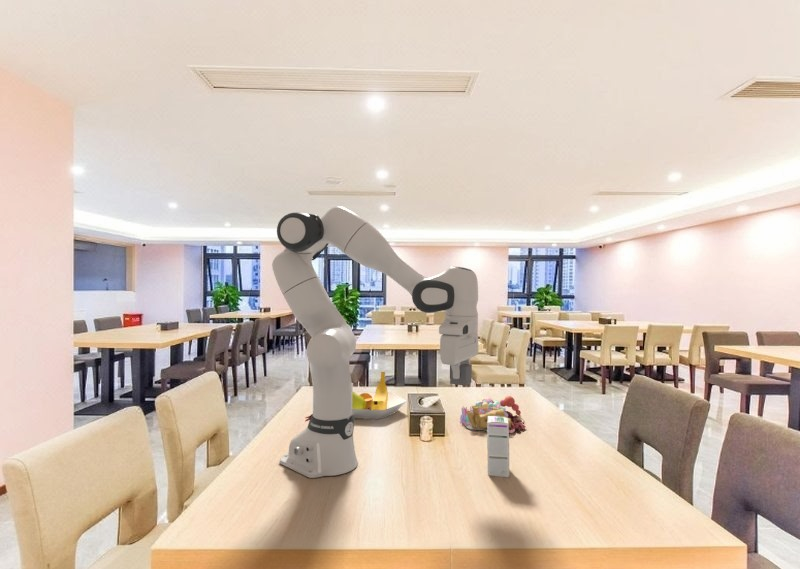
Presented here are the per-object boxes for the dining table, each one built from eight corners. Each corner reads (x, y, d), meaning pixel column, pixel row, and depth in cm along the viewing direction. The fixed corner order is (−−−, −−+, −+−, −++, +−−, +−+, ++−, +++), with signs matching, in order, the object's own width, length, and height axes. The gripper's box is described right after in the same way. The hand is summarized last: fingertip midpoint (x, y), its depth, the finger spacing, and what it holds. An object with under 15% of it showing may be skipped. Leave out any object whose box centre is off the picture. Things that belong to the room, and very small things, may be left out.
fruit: (328, 406, 173) (329, 372, 173) (385, 399, 184) (385, 367, 184) (350, 428, 146) (351, 388, 146) (415, 419, 157) (415, 381, 157)
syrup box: (509, 477, 108) (510, 423, 108) (487, 475, 109) (487, 421, 109) (508, 468, 113) (508, 416, 114) (486, 466, 115) (487, 415, 115)
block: (450, 383, 111) (450, 365, 111) (456, 380, 114) (456, 362, 115) (465, 385, 108) (466, 367, 108) (471, 382, 112) (471, 364, 112)
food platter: (529, 437, 138) (529, 410, 138) (459, 433, 142) (459, 406, 142) (520, 415, 163) (520, 392, 163) (461, 412, 167) (461, 389, 167)
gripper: (463, 322, 122) (462, 368, 122) (436, 328, 104) (435, 382, 104) (484, 323, 119) (483, 371, 119) (459, 329, 101) (458, 385, 101)
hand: (460, 376), depth 111 cm, fingers closed on block, 4 cm apart
